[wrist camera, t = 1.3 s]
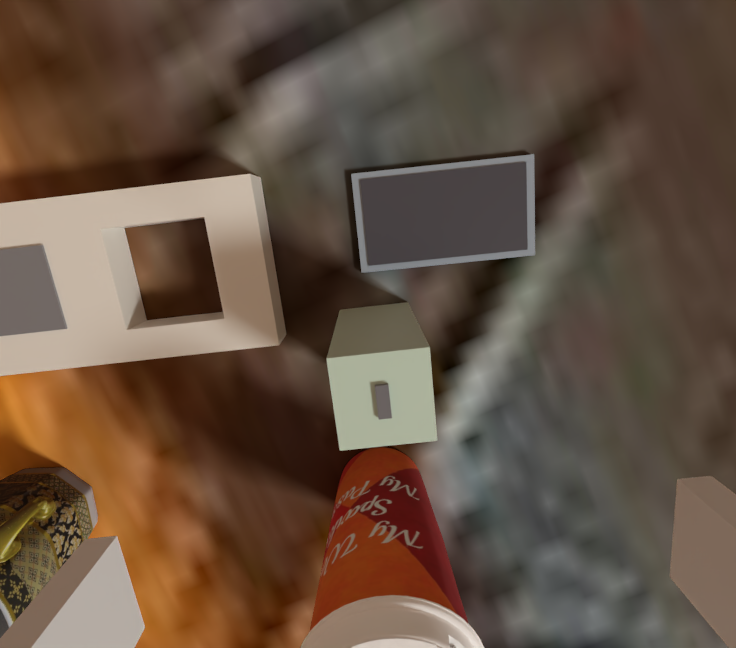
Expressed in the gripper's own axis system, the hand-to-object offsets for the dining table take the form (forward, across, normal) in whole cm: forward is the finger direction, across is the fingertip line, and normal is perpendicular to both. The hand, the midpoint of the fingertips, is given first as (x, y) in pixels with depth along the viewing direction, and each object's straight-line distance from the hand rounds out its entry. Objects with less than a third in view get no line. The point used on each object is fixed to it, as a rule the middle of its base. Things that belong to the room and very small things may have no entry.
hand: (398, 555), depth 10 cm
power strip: (+19, +17, -6) cm, 26 cm away
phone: (+20, -5, -7) cm, 22 cm away
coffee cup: (+19, +1, +11) cm, 22 cm away
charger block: (+19, 0, 0) cm, 19 cm away
